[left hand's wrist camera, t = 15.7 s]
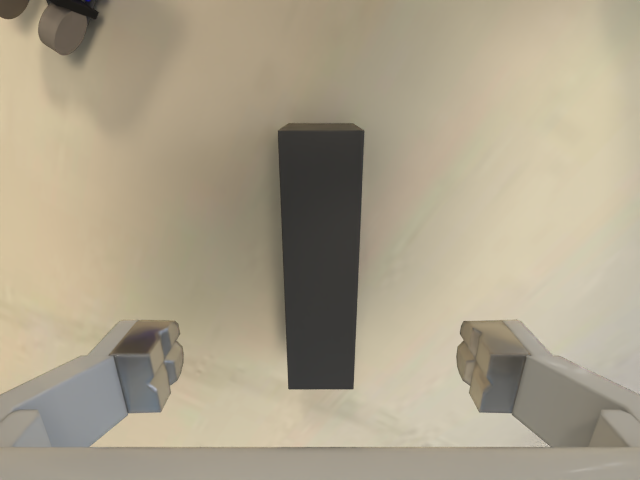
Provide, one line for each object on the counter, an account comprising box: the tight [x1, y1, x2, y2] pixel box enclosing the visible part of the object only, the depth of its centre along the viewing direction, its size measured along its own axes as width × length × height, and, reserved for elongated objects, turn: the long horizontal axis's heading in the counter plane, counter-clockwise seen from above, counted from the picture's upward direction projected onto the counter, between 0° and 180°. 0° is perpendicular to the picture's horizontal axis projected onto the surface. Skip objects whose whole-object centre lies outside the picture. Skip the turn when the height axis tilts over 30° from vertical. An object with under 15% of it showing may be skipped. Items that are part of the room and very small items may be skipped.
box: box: [278, 124, 364, 389], centre depth 33 cm, size 23×6×9 cm, turn 0°
